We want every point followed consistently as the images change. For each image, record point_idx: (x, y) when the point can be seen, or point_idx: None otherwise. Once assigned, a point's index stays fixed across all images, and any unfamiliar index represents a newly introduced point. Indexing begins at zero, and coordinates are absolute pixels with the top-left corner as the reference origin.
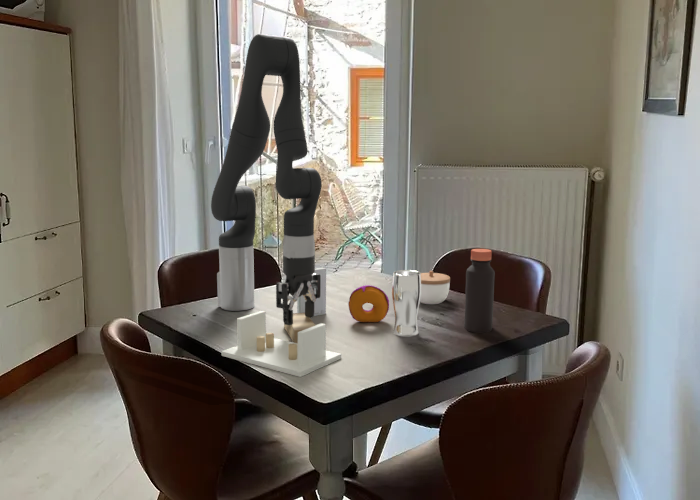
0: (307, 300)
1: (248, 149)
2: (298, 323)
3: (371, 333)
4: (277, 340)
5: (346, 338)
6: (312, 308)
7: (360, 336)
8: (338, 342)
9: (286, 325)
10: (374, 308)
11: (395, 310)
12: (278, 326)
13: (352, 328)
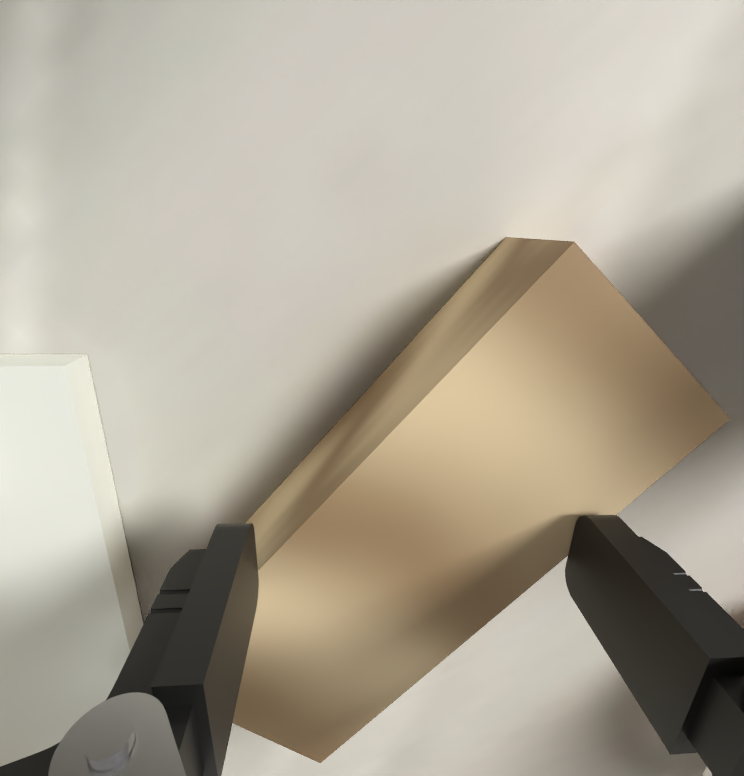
0: (728, 715)
1: None
2: (339, 594)
3: (634, 742)
4: (64, 535)
5: (487, 711)
6: (626, 676)
7: (558, 735)
8: (397, 722)
9: (428, 347)
10: None
11: None
12: (498, 169)
13: None
